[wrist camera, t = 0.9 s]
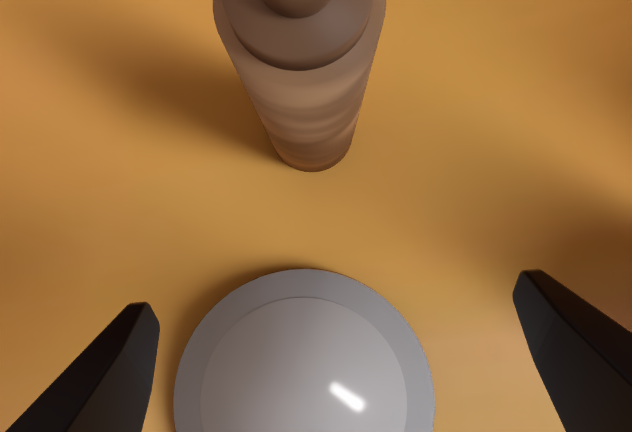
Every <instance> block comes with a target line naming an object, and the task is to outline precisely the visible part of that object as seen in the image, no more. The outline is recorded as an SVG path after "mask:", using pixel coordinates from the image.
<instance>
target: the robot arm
mask: <svg viewBox="0 0 632 432" xmlns="http://www.w3.org/2000/svg"><path fill="white" fill-rule="evenodd" d="M513 302H514V305H515V308H516V311H517V314H518V317H519V320H520V323H521V326H522V329H523V332H524V335H525V338H526V341H527V344H528V347H529V350H530V353H531V355H532V358H533V361H534V363H535V365H536V368H537V370H538V372H539V374H540V377H541V379H542V381H543V383H544V385H545V387H546V389H547V392H548V394H549V396H550V398H551V400H552V402H553V405H554V407H555V409H556V411H557V413H558V415H559V418H560V420H561V422H562V424H563V426H564V428H565V431H566V432H632V333H631V332H630V331H628V330H627V329H626V328H624V327H623V326H621V325H620V324H618V323H617V322H616V321H614V320H613V319H611V318H610V317H608V316H607V315H605V314H604V313H603V312H601V311H600V310H598V309H597V308H595V307H594V306H593V305H591V304H590V303H588V302H587V301H585V300H584V299H583V298H581V297H580V296H578V295H577V294H575V293H574V292H572V291H571V290H570V289H568V288H567V287H565V286H564V285H562V284H561V283H560V282H558V281H557V280H555V279H554V278H552V277H551V276H550V275H548V274H547V273H545V272H544V271H542V270H540V269H531V270H523V271H522V272H520V274H519V277H518V279H517V282H516V285H515V288H514V290H513ZM159 332H160V325H159V322H158V319H157V317H156V316H155V314H154V312H153V310H152V308H151V306H150V305H149V303H147V302H135V303H130V304H129V305H127V306H126V307H125V308H124V309H123V310H122V311H121V312H120V313H119V314H118V315H117V316H116V318H115V319H114V320H113V321H112V322H111V323H110V324H109V325H108V326H107V327H106V328H105V329H104V330H103V331H102V332H101V333H100V334H99V335H98V336H97V337H96V338H95V339H94V340H93V341H92V342H91V343H90V344H89V345H88V347H87V348H86V349H85V350H84V351H83V352H82V353H81V354H80V355H79V356H78V357H77V358H76V359H75V360H74V361H73V362H72V363H71V364H70V365H69V366H68V367H67V368H66V369H65V370H64V371H63V372H62V373H61V374H60V376H59V377H58V378H57V379H56V380H55V381H54V382H53V383H52V384H51V385H50V386H49V387H48V388H47V389H46V390H45V391H44V392H43V393H42V394H41V395H40V396H39V397H38V398H37V399H36V400H35V401H34V402H33V403H32V405H31V406H30V407H29V408H28V409H27V410H26V411H25V412H24V413H23V414H22V415H21V416H20V417H19V418H18V419H17V420H16V421H15V422H14V423H13V424H12V425H11V426H10V427H9V428H8V429H7V430H6V431H5V432H141V431H142V427H143V423H144V419H145V415H146V411H147V407H148V403H149V399H150V395H151V390H152V384H153V377H154V369H155V362H156V355H157V347H158V340H159Z"/></svg>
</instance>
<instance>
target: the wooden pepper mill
mask: <svg viewBox="0 0 632 432" xmlns="http://www.w3.org/2000/svg"><path fill="white" fill-rule="evenodd" d="M385 10H386V0H213V13H214V20H215V24H216V27H217V31H218V33H219V35H220V38H221V40H222V42H223V44H224V46H225V48H226V50H227V52H228V54H229V56H230V58H231V60H232V62H233V64H234V66H235V68H236V71H237V73H238V75H239V77H240V79H241V81H242V83H243V85H244V87H245V89H246V91H247V93H248V95H249V97H250V99H251V101H252V103H253V105H254V107H255V109H256V111H257V113H258V115H259V118H260V120H261V122H262V124H263V126H264V128H265V130H266V132H267V134H268V136H269V138H270V140H271V142H272V144H273V146H274V148H275V150H276V152H277V154H278V155H279V156H280V158H281V159H282V160H283V161H284V162H285V163H287V164H288V165H289V166H291V167H293V168H295V169H297V170H300V171H305V172H318V171H323V170H326V169H328V168H331V167H332V166H334V165H336V164H337V163H338V162H339V161H340V160H341V159H342V158H343V157H344V156H345V154H346V153H347V151H348V149H349V147H350V145H351V141H352V137H353V134H354V130H355V126H356V122H357V119H358V115H359V111H360V107H361V104H362V100H363V96H364V93H365V89H366V85H367V81H368V78H369V74H370V70H371V66H372V63H373V59H374V55H375V51H376V48H377V44H378V40H379V36H380V33H381V29H382V25H383V21H384V17H385Z"/></svg>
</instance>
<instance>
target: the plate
mask: <svg viewBox="0 0 632 432" xmlns="http://www.w3.org/2000/svg"><path fill="white" fill-rule="evenodd" d="M173 414H174V422H175V430H176V432H432V431H433V426H434V414H435V398H434V386H433V381H432V375H431V371H430V367H429V364H428V361H427V358H426V355H425V353H424V351H423V348H422V346H421V344H420V342H419V340H418V338H417V336H416V335H415V333H414V332H413V330H412V328H411V327H410V325H409V324H408V323H407V321H406V320H405V319H404V318H403V316H402V315H401V314H400V313H399V312H398V311H397V310H396V309H395V308H394V307H393V306H392V305H391V304H390V303H389V302H388V301H387V300H386V299H385V298H383V297H382V296H381V295H379V294H378V293H377V292H375V291H374V290H373V289H371V288H370V287H368V286H366V285H364V284H362V283H361V282H359V281H357V280H355V279H352V278H350V277H347V276H344V275H342V274H338V273H334V272H330V271H326V270H318V269H290V270H284V271H278V272H274V273H271V274H267V275H264V276H261V277H259V278H257V279H255V280H252V281H250V282H248V283H246V284H244V285H242V286H240V287H239V288H237V289H236V290H234V291H232V292H231V293H229V294H228V295H227V296H226V297H224V298H223V299H222V300H221V301H219V302H218V303H217V304H216V305H215V306H214V307H213V308H212V309H211V310H210V311H209V312H208V313H207V314H206V315H205V317H204V318H203V319H202V321H201V322H200V323H199V325H198V326H197V327H196V329H195V330H194V332H193V334H192V336H191V338H190V339H189V341H188V343H187V345H186V347H185V350H184V352H183V355H182V357H181V360H180V363H179V367H178V371H177V375H176V379H175V387H174V395H173Z"/></svg>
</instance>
